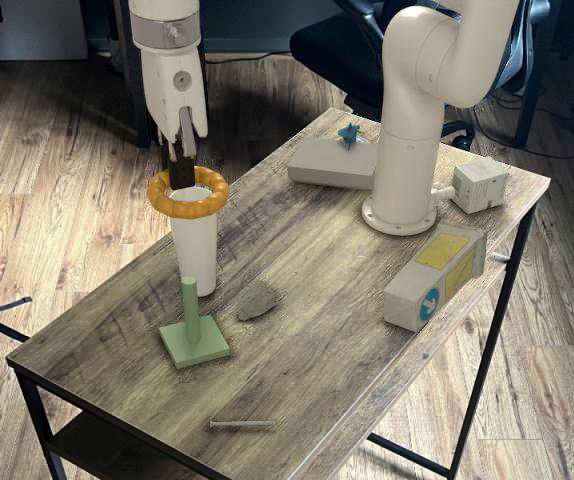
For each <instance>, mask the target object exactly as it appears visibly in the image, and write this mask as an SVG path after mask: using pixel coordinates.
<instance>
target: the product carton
mask: <svg viewBox="0 0 574 480" xmlns="http://www.w3.org/2000/svg"><path fill="white" fill-rule="evenodd" d="M509 177H510V171H508V170H507V169H506V168H505V167H503V166H502V165H501V164H500V163H498V162H497V161H496V160H495V159H493V158H492V157H491V156H490V155H488V156H483V157H481V158H477V159H474V160H470V161H465V162H461V163H458V164H455V165H454V168H453V172H452V179H451V183H450V187H451V186H452V187H454V189H455V197H454V198H451V199H450V200H452V201H453V202H454V203H455V204H456V205H457V206H458V207H459V208H460V209H461V210H462V211H463V212H464V213H466V214H467V215H470V214H473V213H477V212H480V211H484V210H487V209H491V208H493V207H497V206H500V205H503V202H504V198H505V194H506V188H507V185H508V180H509Z"/></svg>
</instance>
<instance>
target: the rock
mask: <svg viewBox="0 0 574 480" xmlns="http://www.w3.org/2000/svg"><path fill="white" fill-rule="evenodd" d="M275 305H276V296H275V294H274V292H273V290H272V289H271V287H269V286H268V285H266V284H265V283H263V282H262V281H260V280H257V281H255V283H254V285H253V286H252V288H251V289H250V290H249V291H247V292H246V295H245V296H244V297H242V298H241V299H240V301H239V304H238V308H237V309H236V314H237V316H238V320H240V321H243V322H245V321H247V320H250V319H252V318H255V317H259V316H261V315H264V314H265V313H266V312H267V311H269V310H271V309H272V308H273V307H275Z"/></svg>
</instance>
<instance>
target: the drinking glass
mask: <svg viewBox="0 0 574 480" xmlns="http://www.w3.org/2000/svg"><path fill="white" fill-rule="evenodd" d="M212 192H213V191H212V190H209V189H207V188H205V187H202V186H194V187H190V188H185V189H180V190H175V191H173V192H172V193H171V194H170V195H169V196H168V197H169V198H171V199H173V200H175V201H185V202H192V201H197V200H202V199H205V198H206V197H208V196H209V195H211V194H212ZM218 218H219V217H218V211H217V212H215V213H214V214H212V215H211V216H206V217H202V218H197V219H192V220H190V219H179V218H171V217H169V223H170V231H171V236H172V241H173V246H174V251H175V255H176V261H177V267H178V271H179V277H180V281H181V280H182V278H183V277H185V276H193V277H195V278H196V282H197V295H198V298H201V297H207V296H209V295H210V294H212V293H213V292H214V291H215V289H216V287H217V274H216V273H217V253H218V232H219V231H218V230H219V229H218V228H219V226H218V225H219V223H218ZM180 285H181V287H182V283H181V282H180Z"/></svg>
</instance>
